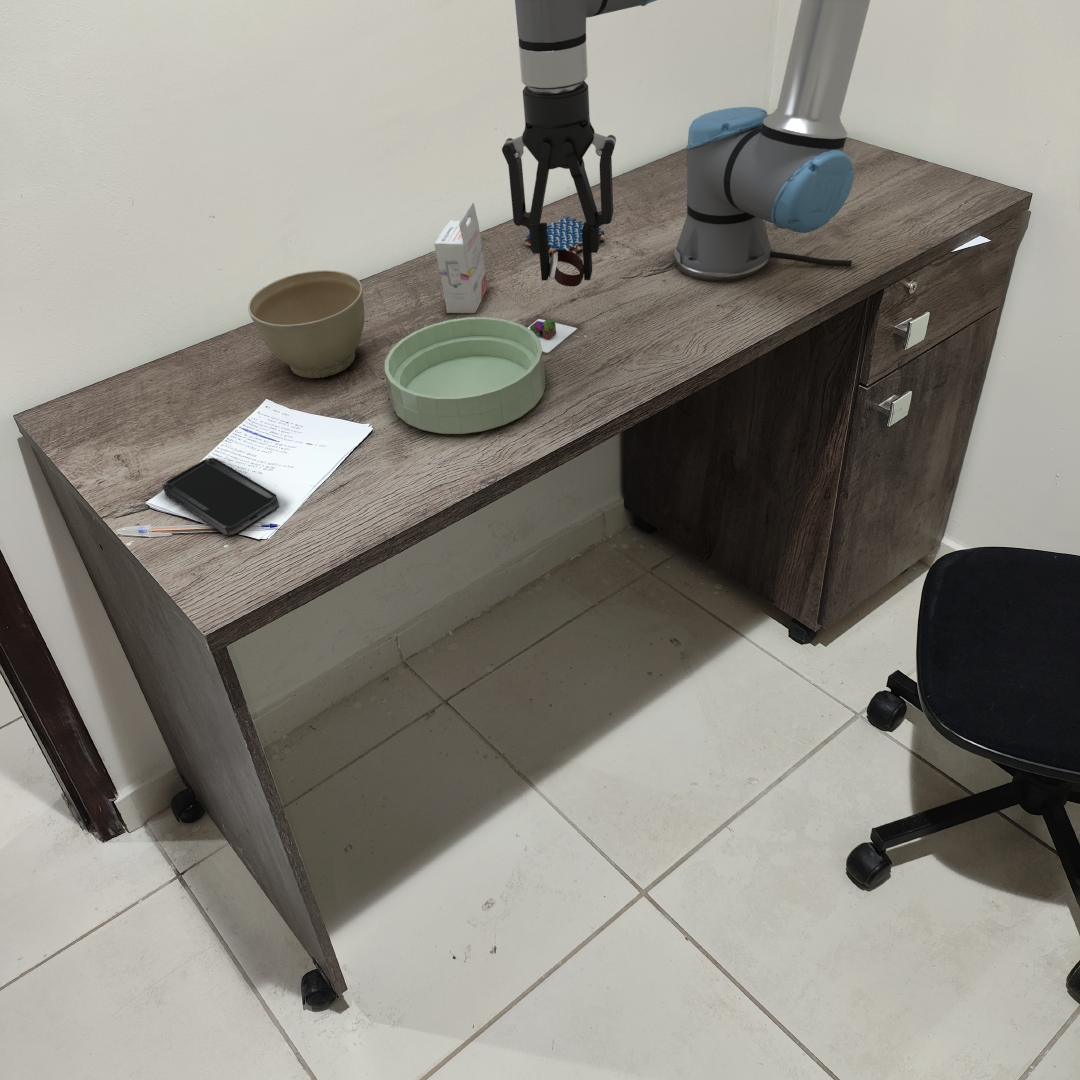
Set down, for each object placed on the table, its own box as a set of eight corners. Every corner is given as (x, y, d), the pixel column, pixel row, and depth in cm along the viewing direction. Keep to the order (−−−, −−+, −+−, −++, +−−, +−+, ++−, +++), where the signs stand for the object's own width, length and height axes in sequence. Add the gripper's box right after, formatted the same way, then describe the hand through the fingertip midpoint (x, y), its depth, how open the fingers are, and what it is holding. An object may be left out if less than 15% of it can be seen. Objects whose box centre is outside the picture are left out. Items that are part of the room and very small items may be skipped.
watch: (546, 267, 128) (545, 240, 126) (582, 263, 128) (581, 237, 126) (551, 293, 122) (549, 265, 120) (588, 289, 122) (587, 261, 120)
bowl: (555, 354, 140) (552, 316, 136) (532, 438, 125) (528, 399, 121) (414, 354, 144) (407, 317, 140) (374, 436, 128) (365, 397, 124)
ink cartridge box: (459, 288, 159) (445, 200, 149) (488, 289, 158) (476, 200, 148) (445, 314, 153) (429, 223, 143) (475, 314, 152) (462, 223, 142)
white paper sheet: (577, 328, 145) (576, 312, 144) (547, 353, 141) (546, 337, 139) (538, 318, 149) (537, 303, 147) (508, 342, 144) (506, 327, 142)
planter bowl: (249, 365, 146) (228, 299, 139) (341, 325, 153) (325, 260, 146) (302, 405, 136) (282, 336, 129) (397, 360, 143) (383, 292, 136)
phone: (211, 455, 126) (280, 497, 118) (213, 462, 127) (282, 504, 118) (158, 486, 122) (226, 531, 114) (161, 493, 123) (229, 538, 114)
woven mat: (522, 246, 169) (521, 234, 168) (566, 225, 174) (565, 214, 173) (562, 262, 163) (561, 250, 162) (607, 240, 168) (607, 229, 167)
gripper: (636, 70, 112) (638, 262, 127) (484, 76, 114) (504, 263, 129) (631, 90, 106) (634, 288, 121) (471, 96, 109) (494, 289, 124)
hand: (567, 275), depth 125 cm, fingers closed on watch, 5 cm apart
